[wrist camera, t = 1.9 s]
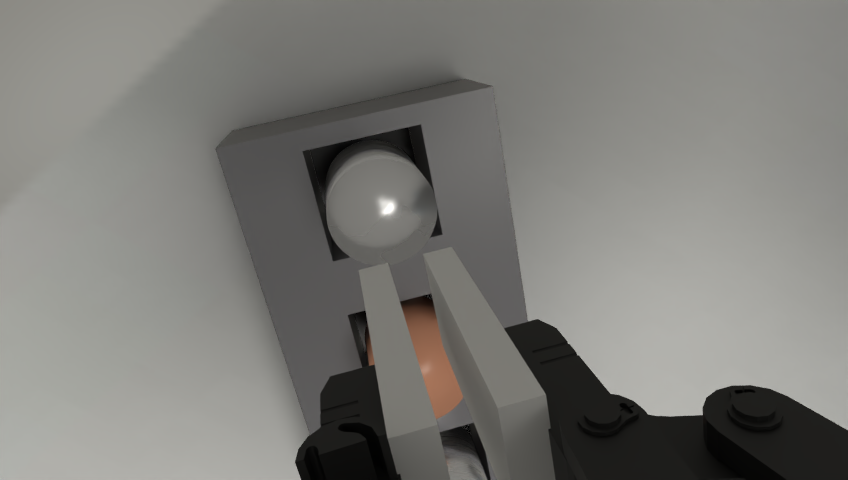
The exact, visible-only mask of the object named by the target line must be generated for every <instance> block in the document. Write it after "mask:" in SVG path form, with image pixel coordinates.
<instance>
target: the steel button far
mask: <svg viewBox="0 0 848 480" xmlns="http://www.w3.org/2000/svg"><path fill="white" fill-rule="evenodd" d="M439 433H440V437H441V442H442V446H443V450H444V455H445V459H446V463H447V468H448V472H449V476H450V480H487V477H486V475H485V472H484V470H483V467H482V464H481V462H480V459H479V456H478V454H477V451H476V449H475V446H474V443H473V441H472V438H471V436H470V435H469V433H468V432H467V431H466V430H465V429H464V428H463V427H461V426H460V427H456V428H453V429H449V430H446V431H442V432H439Z"/></svg>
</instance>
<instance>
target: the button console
mask: <svg viewBox="0 0 848 480" xmlns="http://www.w3.org/2000/svg"><path fill="white" fill-rule="evenodd" d="M407 127H408V129H409V133H410V138H411V143H412V148H413V153H414V158H415V163H416V167H417V168H418V169H419V171H420V172H421V173H422V174H423V176H424V177H425V178H426V180H427V181H428V182H429V184H430V186H431V187H432V190H433V192H434V194H435V198H436V203H437V219H436V224H435V227H434V230H433V232H432V235H431V236H430V238H429V240H428V241H427V243H426V244H425V245H424V246H423V247H422V248H421V249H420V250H419V251H418V252H417V253H416V254H414V255H413V256H411V257H410V258H408V259H406V260H404V261H402V262H399V263H396V264H391V265H389V268H390V271H391V275H392V278H393V281H394V284H395V288H396V291H397V294H398V297H399V301H404V300H408V299H412V298H416V297H420V296H424V295H427V294H431V289H430V284H429V280H428V275H427V270H426V265H425V261H424V256H423V254H425V253H429V252H433V251H437V250H441V249H445V248H449V247H452V248H453V250H454V251H455V253H456V254H457V256H458V258H459V259H460V261H461V262H462V264H463V265H464V267H465V268H466V270H467V272H468V273H469V275H470V276H471V278H472V279H473V281H474V283H475V284H476V286H477V287H478V289H479V290H480V292H481V294H482V295H483V297H484V298H485V300H486V301H487V303H488V305H489V306H490V308H491V309H492V311H493V312H494V314H495V315H496V317H497V319H498V320H499V322H500V323H501V325H502V326H503V328H506V327H510V326H514V325H518V324H521V323H525V322H528V320H527V313H526V306H525V299H524V293H523V286H522V279H521V273H520V266H519V259H518V252H517V246H516V239H515V232H514V225H513V219H512V212H511V205H510V198H509V192H508V185H507V178H506V171H505V165H504V158H503V151H502V145H501V138H500V131H499V124H498V118H497V111H496V104H495V97H494V91H493V86H490V85H486V84H482V83H479V82H475V81H471V80H468V79H463V80H458V81H454V82H449V83H445V84H440V85H436V86H431V87H427V88H422V89H418V90H413V91H409V92H404V93H400V94H395V95H391V96H386V97H382V98H377V99H373V100H368V101H364V102H359V103H355V104H350V105H346V106H341V107H337V108H332V109H328V110H323V111H319V112H314V113H310V114H305V115H301V116H296V117H292V118H287V119H283V120H278V121H274V122H269V123H265V124H260V125H256V126H251V127H247V128H242V129H238V130H233V131H232V132H231V133H230V134H229V135H228V136H227V137H226V138H225V139H224V140H223V141H222V142H221V143H220V144H219V145H218V146H217V148H216V152H217V155H218V158H219V161H220V164H221V167H222V170H223V173H224V176H225V179H226V182H227V185H228V188H229V191H230V194H231V197H232V200H233V203H234V206H235V209H236V212H237V215H238V218H239V221H240V224H241V227H242V230H243V234H244V237H245V240H246V243H247V246H248V249H249V252H250V255H251V258H252V261H253V264H254V267H255V270H256V273H257V276H258V279H259V282H260V285H261V288H262V291H263V294H264V297H265V300H266V303H267V306H268V309H269V312H270V315H271V318H272V321H273V324H274V327H275V330H276V333H277V336H278V339H279V342H280V345H281V348H282V351H283V354H284V357H285V360H286V363H287V366H288V369H289V372H290V375H291V378H292V381H293V384H294V387H295V391H296V394H297V397H298V400H299V403H300V406H301V409H302V412H303V415H304V418H305V421H306V424H307V427H308V430H309V433H310V435H311V434H312V433H314V432H315V431H316V430H318V429H319V428H320V427H321V425H320V414H321V411H320V393H321V391H322V390H323V388H324V386H325V384H326V383H327V381H328V379H329V377H330V376H333V375H337V374H340V373H344V372H348V371H352V370H355V369H359V368H363V367H367V366H369V361H368V355H367V353H366V354H365V352H364V349H363V345H362V341H361V338H360V334H359V330H358V326H357V323H356V319H355V315H354V313H357V312H361V311H365V304H364V299H363V293H362V287H361V281H360V275H359V270H361V269H365V268H369V267H373V266H377V265H369V264H365V263H362V262H359V261H357V260H355V259H353V258H351V257H350V256H348V255H347V254H346V253H344V252H343V251H342V250H341V249H340V248H339V247H338V246H337V244H336V243H335V241H334V240H333V238H332V236H331V234H330V231H329V228H328V224H327V216H326V209H325V205H324V201H323V197H322V194H321V190H320V186H319V183H318V179H317V175H316V172H315V168H314V164H313V161H312V157H311V153H310V149H315V148H319V147H323V146H328V145H332V144H336V143H341V142H345V141H350V140H354V139H358V138H363V137H367V136H371V135H376V134H380V133H385V132H389V131H393V130H398V129H402V128H407ZM436 421H437V424H438V428H439V432H442V431H446V430H449V429H453V428H456V427H460V426H464V425H467V424H469V425H470V430H471V435H472V441H473V443H474V446H475V449H476V451H477V454H478V456H479V459H480V462H481V464H482V467H483V470H484V472H485V475H486V477H487V480H497V479H496V476H495V474H494V471H493V469H492V466H491V464H490V462H489V459H488V457H487V454H486V452H485V449H484V447H483V444H482V442H481V439H480V437H479V434H478V432H477V429H476V427H475V424H474V422H473V419H472V417H471V414H470V412H469V409H468V407H467V405H466V402H465V400H464V397H463V398H462V400H461V401H460V403H459V404H458V405H457V406H456V407H455V408H454V409H453V410H451V411H450V412H449V413H447V414H446V415H444V416H442V417H440V418H438V419H436Z"/></svg>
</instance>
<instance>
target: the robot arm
mask: <svg viewBox="0 0 848 480" xmlns="http://www.w3.org/2000/svg"><path fill="white" fill-rule="evenodd" d="M423 256H424V261H425V265H426V270H427V275H428V280H429V284H430V289H431V294H432V298H433V303H434V308H435V312H436V317H437V322H438V326H439V331H440V336H441V340H442V345H443V348H444V350H445V352H446V355H447V357H448V360H449V362H450V365H451V367H452V370H453V372H454V375H455V377H456V380H457V382H458V385H459V387H460V390H461V392H462V395H463V397H464V400H465V402H466V405H467V407H468V409H469V412H470V414H471V417H472V419H473V422H474V424H475V427H476V429H477V432H478V434H479V437H480V439H481V442H482V444H483V447H484V449H485V452H486V454H487V457H488V459H489V462H490V464H491V466H492V469H493V471H494V474H495V476H496V479H497V480H848V430H846V429H844V428H843V427H841V426H839V425H837V424H835V423H834V422H832V421H830V420H828V419H827V418H825V417H823V416H821V415H820V414H818V413H816V412H814V411H812V410H811V409H809V408H807V407H805V406H804V405H802V404H800V403H798V402H797V401H795V400H793V399H791V398H789V397H788V396H785V395H783V394H780V393H778V392H776V391H773V390H771V389H767V388H761V387H756V386H751V385H748V386H730V387H726V388H723V389H719V390H716V391H715V392H714V393H712V394H711V395H710V396H708V397H707V398H706V401H705V403H704V406H703V415H699V416H674V417H666V416H652V415H648V414H647V413H646V412H645V410H643V409H642V408H641V407H640V406H639V405H638V404H636V403H635V402H634V401H632V400H630V399H627V398H625V397H622V396H620V395H614V394H610V393H609V392H608V391H607V389H606V388H605V387H604V386H603V384H602V383H601V382H600V381H599V380H598V378H597V377H596V376H595V375H594V373H593V372H592V371H591V370H590V369H589V367H588V366H587V365H586V364H585V363H584V361H583V360H582V359H581V358H580V356H579V355H578V356H577V354H576V352H575V350H574V349H573V348H572V347H571V345H570V344H568V343H567V341H566V339H565V338H564V337H563V336H562V335H561V333H560V332H559V331H558V330H557V328H555V327H553V326H551V325H549V324H547V323H544V322H542V321H540V320H538V319H537V320H533V321H529V322H525V323H521V324H518V325H514V326H510V327H506V328H503V326H502V325H501V323H500V322H499V320H498V319H497V317H496V315H495V314H494V312H493V311H492V309H491V308H490V306H489V305H488V303H487V301H486V300H485V298H484V297H483V295H482V294H481V292H480V290H479V289H478V287H477V286H476V284H475V283H474V281H473V279H472V278H471V276H470V275H469V273H468V272H467V270H466V268H465V267H464V265H463V264H462V262H461V261H460V259H459V258H458V256H457V254H456V253H455V251H454V250H453V248H452V247H449V248H445V249H441V250H437V251H433V252H429V253H425V254H423ZM359 275H360V281H361V287H362V293H363V299H364V304H365V310H366V316H367V322H368V328H369V334H370V339H371V345H372V351H373V357H374V363H375V364H374V365H370V366H367V367H363V368H359V369H355V370H352V371H348V372H344V373H340V374H337V375H333V376H330V377H329V379H328V381H327V383H326V384H325V386H324V388H323V390H322V391H321V393H320V411H321V414H320V425H321V427H320V428H319V429H318V430H316V431H315V432H314V433H312V434H311V435H310V436H308V437H307V439H306V440H305V441H304V443H303V444H302V445H301V447H300V448H299V449H298V453H297V457H296V461H295V463H296V466H297V469H298V472H299V474H300V477H301V480H450V476H449V472H448V468H447V463H446V459H445V455H444V450H443V446H442V442H441V437H440V433H439V428H438V424H437V421H436V418H435V415H434V411H433V408H432V405H431V402H430V398H429V395H428V392H427V389H426V385H425V382H424V379H423V375H422V372H421V369H420V366H419V362H418V359H417V356H416V353H415V349H414V346H413V343H412V340H411V336H410V333H409V330H408V327H407V323H406V320H405V317H404V314H403V310H402V307H401V304H400V301H399V297H398V294H397V291H396V288H395V284H394V281H393V278H392V275H391V271H390V268H389V265H388V263H385V264H381V265H377V266H373V267H369V268H365V269H361V270H359Z"/></svg>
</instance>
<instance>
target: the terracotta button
mask: <svg viewBox="0 0 848 480" xmlns="http://www.w3.org/2000/svg"><path fill="white" fill-rule="evenodd" d="M400 304H401V307H402V310H403V314H404V317H405V320H406V323H407V327H408V330H409V333H410V336H411V340H412V343H413V346H414V349H415V353H416V356H417V359H418V362H419V366H420V369H421V372H422V375H423V379H424V382H425V385H426V389H427V392H428V395H429V398H430V402H431V405H432V408H433V411H434V415H435V418H436V419H438V418H440V417H442V416H444V415H446V414H447V413H449V412H450V411H451V410H453V409H454V408H455V407H456V406H457V405H458V404H459V403H460V401H461V400H462V398H463V395H462V392H461V390H460V387H459V385H458V382H457V380H456V377H455V375H454V372H453V370H452V367H451V365H450V362H449V360H448V357H447V355H446V352H445V350H444V348H443V345H442V340H441V336H440V331H439V326H438V322H437V317H436V312H435V308H434V303H433V300H431V299H429V298H427V297H424V296H420V297H416V298H412V299H408V300H404V301H400ZM365 342H366V348H367V355H368V361H369V366H370V365H374V364H375V363H374V357H373V351H372V345H371V339H370V334H369V328H368V322H367V325H366V329H365Z"/></svg>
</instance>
